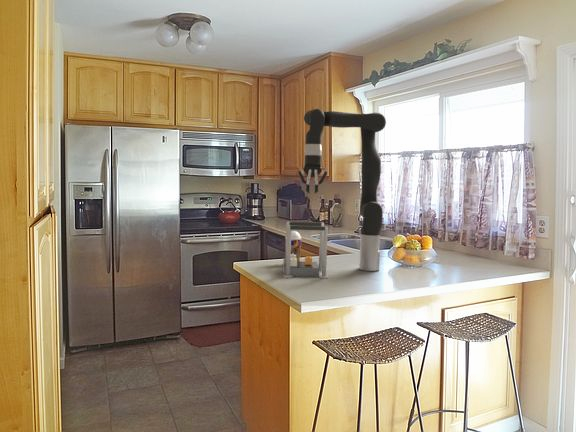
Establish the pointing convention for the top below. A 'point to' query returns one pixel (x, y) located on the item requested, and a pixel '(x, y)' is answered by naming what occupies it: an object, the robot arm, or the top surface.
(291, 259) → the toggle white near
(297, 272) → the gray open tray
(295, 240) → the smoothie
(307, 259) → the toggle orange
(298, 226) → the gray open frame stand
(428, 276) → the top surface
